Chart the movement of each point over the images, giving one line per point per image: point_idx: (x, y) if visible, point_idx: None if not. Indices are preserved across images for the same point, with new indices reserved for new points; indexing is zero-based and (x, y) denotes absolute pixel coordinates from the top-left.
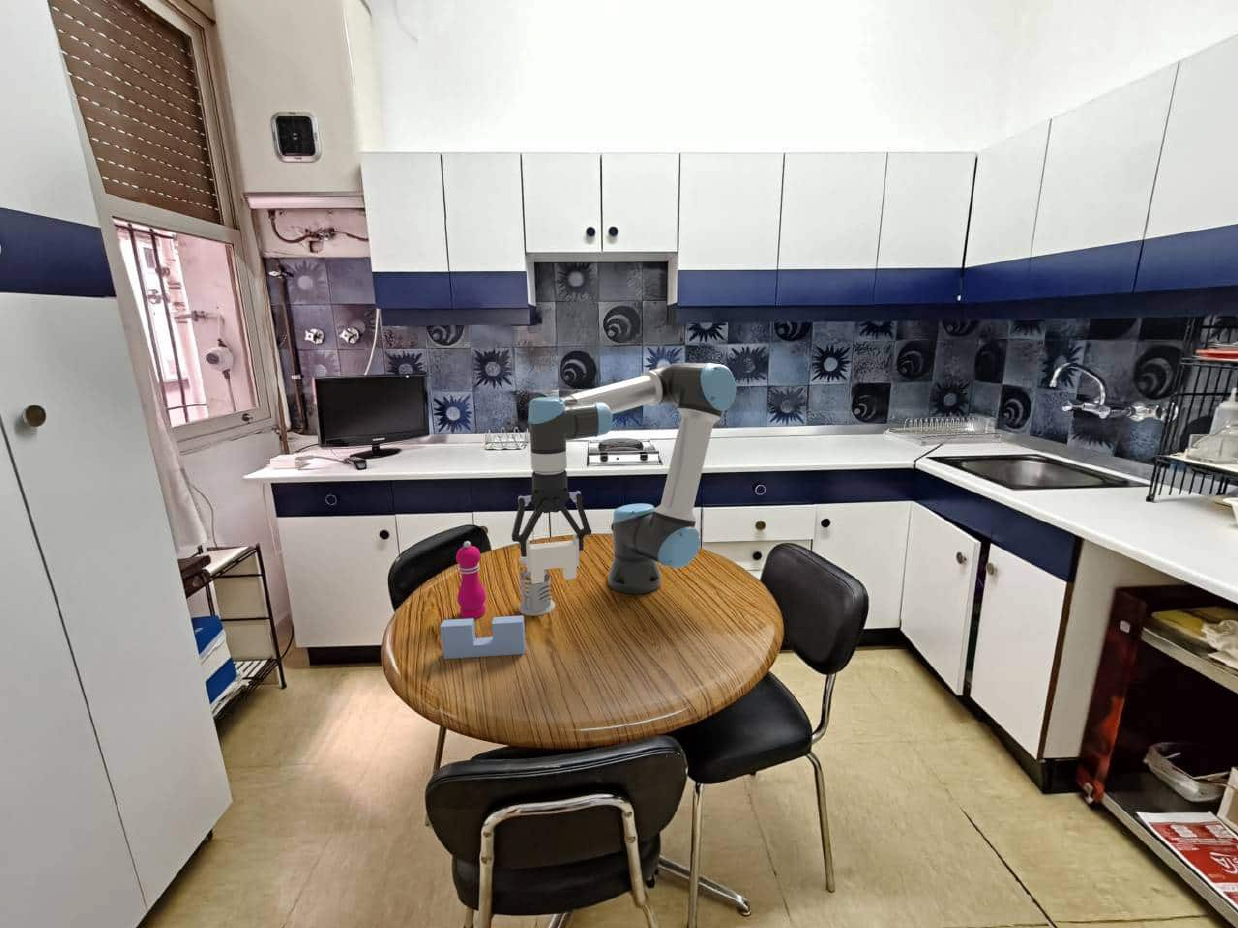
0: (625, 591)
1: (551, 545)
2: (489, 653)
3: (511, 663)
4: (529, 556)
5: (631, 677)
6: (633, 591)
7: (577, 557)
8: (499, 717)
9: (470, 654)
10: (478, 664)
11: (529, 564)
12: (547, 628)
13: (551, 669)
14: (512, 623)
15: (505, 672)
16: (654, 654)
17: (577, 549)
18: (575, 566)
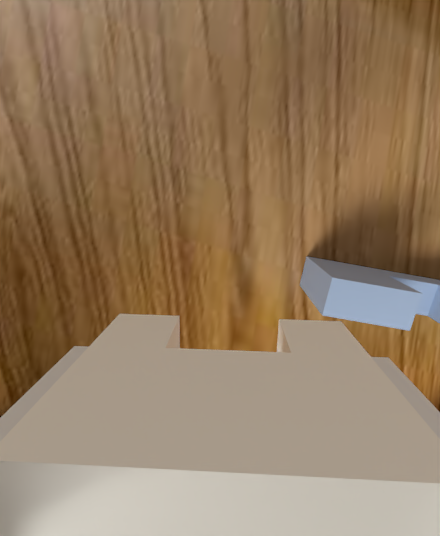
0: None
1: (233, 519)
2: (387, 271)
3: (341, 226)
4: (435, 430)
5: (81, 89)
6: None
7: (52, 381)
8: (401, 19)
9: (431, 279)
10: (413, 244)
11: (400, 385)
12: (239, 344)
13: (256, 176)
14: (361, 282)
15: (360, 194)
16: (13, 167)
17: (5, 425)
18: (96, 344)
